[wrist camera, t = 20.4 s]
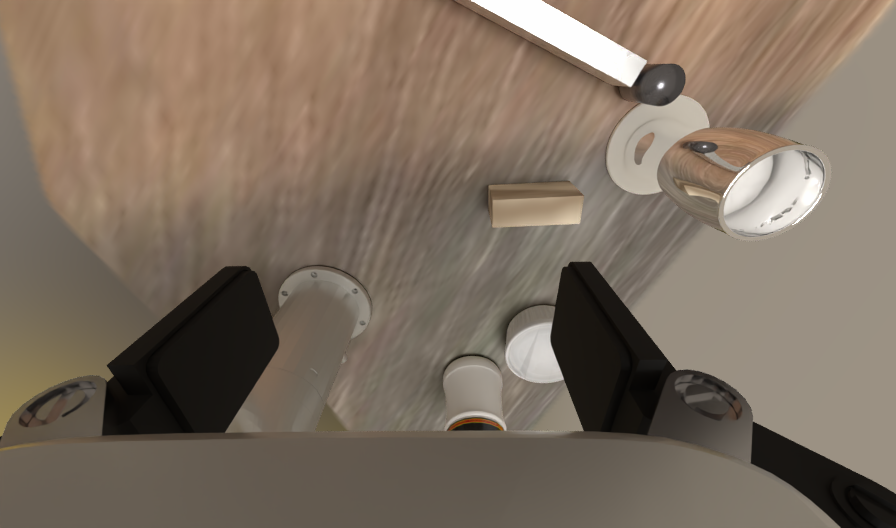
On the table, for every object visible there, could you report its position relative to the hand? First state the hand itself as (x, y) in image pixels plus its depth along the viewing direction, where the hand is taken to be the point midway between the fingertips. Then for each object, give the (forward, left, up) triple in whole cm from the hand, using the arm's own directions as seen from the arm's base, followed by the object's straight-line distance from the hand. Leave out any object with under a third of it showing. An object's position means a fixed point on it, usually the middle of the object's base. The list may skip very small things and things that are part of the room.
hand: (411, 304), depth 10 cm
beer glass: (-2, -22, -28) cm, 36 cm away
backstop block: (-7, -9, -29) cm, 31 cm away
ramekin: (-27, -12, -29) cm, 41 cm away
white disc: (-2, -22, -29) cm, 36 cm away
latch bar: (+10, -7, -27) cm, 30 cm away
